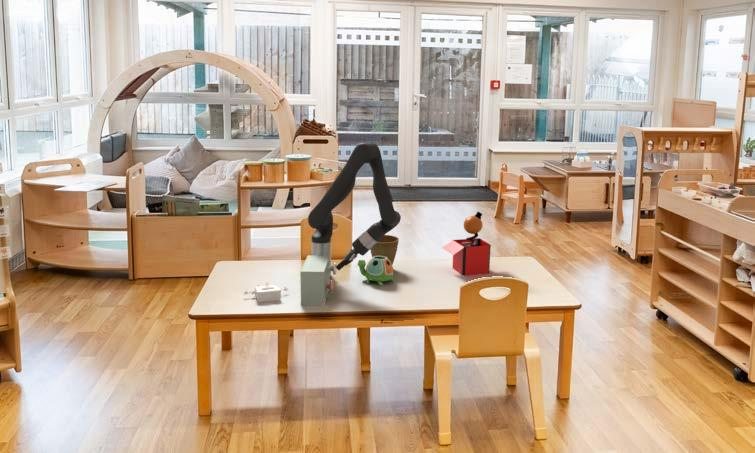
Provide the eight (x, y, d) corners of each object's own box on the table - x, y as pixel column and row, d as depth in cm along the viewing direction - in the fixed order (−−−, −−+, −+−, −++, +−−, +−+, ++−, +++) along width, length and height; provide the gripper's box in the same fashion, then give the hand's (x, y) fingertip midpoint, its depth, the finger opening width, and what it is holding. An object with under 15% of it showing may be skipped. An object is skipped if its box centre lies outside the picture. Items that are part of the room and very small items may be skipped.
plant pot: (362, 268, 384) (362, 237, 380) (386, 263, 393) (386, 233, 389) (380, 275, 372) (380, 243, 369) (404, 270, 381) (404, 239, 377)
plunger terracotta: (302, 293, 332) (302, 281, 331) (303, 289, 338) (303, 277, 336) (332, 294, 332) (332, 281, 331) (333, 290, 337) (333, 278, 336)
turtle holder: (364, 274, 373) (365, 251, 371) (397, 280, 365) (398, 256, 362) (352, 281, 363) (352, 257, 360) (385, 287, 354) (386, 262, 352)
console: (300, 304, 329) (300, 271, 326) (308, 286, 354) (307, 255, 351) (324, 305, 329) (323, 271, 325) (329, 286, 354) (329, 255, 351)
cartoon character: (285, 294, 351) (292, 299, 336) (241, 298, 345) (246, 304, 330) (284, 277, 351) (291, 281, 335) (240, 281, 345) (245, 285, 329)
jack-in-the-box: (487, 264, 393) (490, 207, 386) (500, 272, 379) (503, 213, 372) (440, 268, 386) (442, 209, 379) (452, 276, 372) (454, 216, 365)
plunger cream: (306, 275, 343) (306, 263, 342) (307, 272, 348) (307, 260, 347) (335, 276, 342) (335, 264, 341) (336, 272, 348) (336, 260, 347)
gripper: (359, 233, 347) (332, 258, 351) (358, 240, 335) (330, 267, 338) (371, 244, 348) (344, 270, 352) (370, 252, 336) (342, 278, 339)
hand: (337, 268), depth 345 cm, fingers closed
